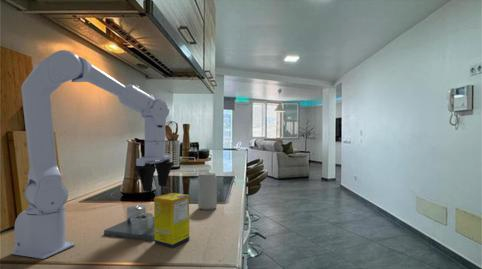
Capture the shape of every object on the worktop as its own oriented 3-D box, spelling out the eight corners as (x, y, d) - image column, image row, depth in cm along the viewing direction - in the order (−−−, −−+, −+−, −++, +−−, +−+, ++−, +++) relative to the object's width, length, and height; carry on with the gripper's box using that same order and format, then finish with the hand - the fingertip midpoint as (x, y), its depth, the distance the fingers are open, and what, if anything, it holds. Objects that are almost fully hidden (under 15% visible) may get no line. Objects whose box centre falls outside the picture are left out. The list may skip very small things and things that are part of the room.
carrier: (103, 234, 74) (103, 214, 74) (138, 219, 87) (138, 201, 87) (153, 240, 70) (153, 219, 70) (181, 223, 83) (181, 205, 83)
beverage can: (218, 205, 102) (218, 172, 102) (214, 210, 96) (214, 174, 96) (200, 205, 103) (200, 171, 103) (196, 210, 97) (195, 174, 97)
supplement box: (171, 235, 73) (171, 192, 73) (190, 240, 70) (189, 194, 70) (153, 243, 68) (153, 196, 68) (172, 248, 65) (172, 199, 65)
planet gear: (126, 233, 71) (126, 219, 71) (139, 227, 76) (139, 213, 76) (144, 235, 70) (144, 220, 70) (156, 228, 75) (156, 215, 75)
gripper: (152, 142, 75) (152, 194, 76) (179, 140, 89) (180, 184, 89) (129, 142, 77) (129, 192, 78) (159, 140, 91) (160, 183, 91)
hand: (155, 188), depth 84 cm, fingers open, 7 cm apart
